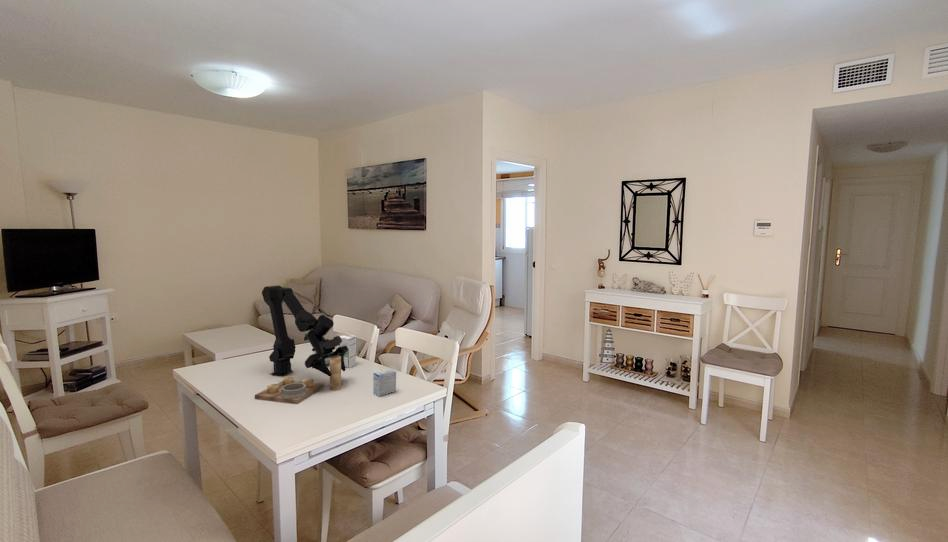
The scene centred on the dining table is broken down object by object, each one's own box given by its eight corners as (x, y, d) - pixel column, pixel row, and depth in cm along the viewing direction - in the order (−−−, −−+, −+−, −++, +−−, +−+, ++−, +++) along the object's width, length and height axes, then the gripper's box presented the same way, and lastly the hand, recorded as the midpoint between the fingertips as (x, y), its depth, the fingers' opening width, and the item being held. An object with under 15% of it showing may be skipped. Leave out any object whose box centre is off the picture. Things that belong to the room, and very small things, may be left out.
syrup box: (356, 364, 206) (356, 335, 205) (349, 368, 201) (348, 337, 199) (346, 363, 208) (346, 333, 207) (338, 366, 202) (338, 336, 201)
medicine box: (389, 389, 176) (390, 368, 175) (396, 392, 172) (396, 371, 172) (372, 393, 170) (373, 372, 169) (379, 397, 167) (379, 375, 166)
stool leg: (327, 389, 173) (327, 358, 172) (333, 386, 177) (333, 355, 176) (337, 390, 172) (337, 359, 171) (343, 387, 177) (343, 356, 175)
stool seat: (254, 398, 162) (254, 387, 162) (285, 382, 180) (285, 372, 179) (297, 404, 158) (296, 392, 158) (324, 387, 176) (324, 376, 176)
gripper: (309, 335, 167) (329, 368, 162) (345, 326, 183) (364, 356, 178) (295, 351, 171) (315, 384, 167) (332, 342, 187) (351, 371, 183)
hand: (337, 373), depth 174 cm, fingers open, 7 cm apart
